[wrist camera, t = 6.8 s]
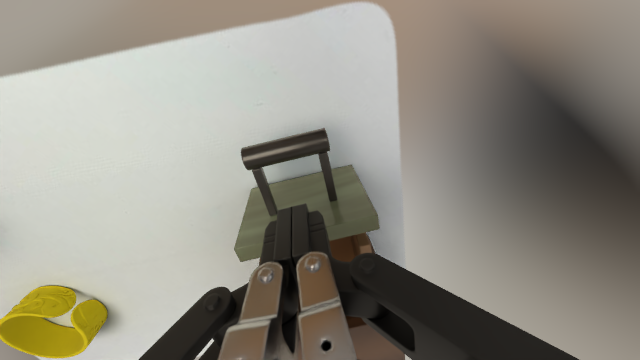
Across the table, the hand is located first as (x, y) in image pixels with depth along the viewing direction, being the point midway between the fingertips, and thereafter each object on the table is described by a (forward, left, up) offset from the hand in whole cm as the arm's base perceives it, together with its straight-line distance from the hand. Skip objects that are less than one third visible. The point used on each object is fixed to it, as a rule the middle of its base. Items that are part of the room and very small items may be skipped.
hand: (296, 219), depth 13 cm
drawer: (+3, +4, -9) cm, 11 cm away
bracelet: (+31, -9, -11) cm, 34 cm away
